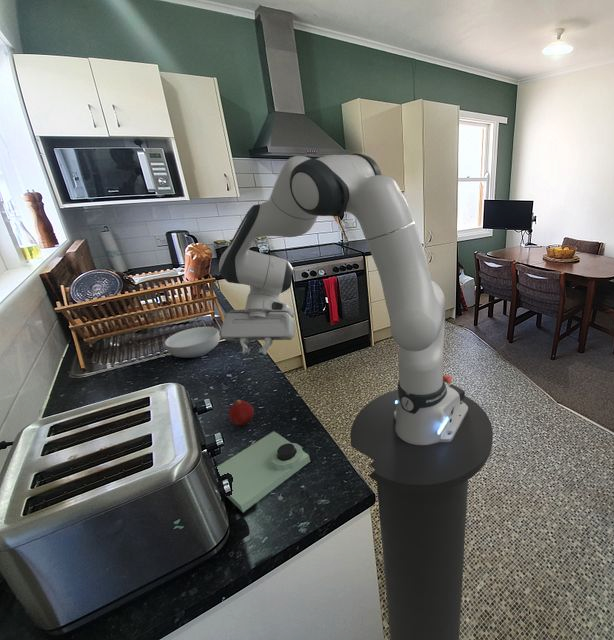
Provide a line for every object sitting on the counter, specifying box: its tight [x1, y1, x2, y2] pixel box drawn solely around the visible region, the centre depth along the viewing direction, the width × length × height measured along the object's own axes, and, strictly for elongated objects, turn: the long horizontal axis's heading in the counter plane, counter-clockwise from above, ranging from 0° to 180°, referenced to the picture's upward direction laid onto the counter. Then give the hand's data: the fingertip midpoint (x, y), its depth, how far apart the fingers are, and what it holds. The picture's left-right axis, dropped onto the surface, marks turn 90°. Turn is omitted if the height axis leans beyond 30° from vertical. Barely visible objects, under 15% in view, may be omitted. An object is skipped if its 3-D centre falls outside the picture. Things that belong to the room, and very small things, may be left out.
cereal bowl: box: [164, 326, 221, 359], centre depth 127 cm, size 17×17×7 cm
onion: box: [228, 399, 255, 426], centre depth 90 cm, size 6×6×8 cm
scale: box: [216, 430, 311, 513], centre depth 77 cm, size 16×14×4 cm
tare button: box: [277, 442, 295, 461], centre depth 77 cm, size 4×4×2 cm
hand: (254, 354), depth 97 cm, fingers open, 3 cm apart
